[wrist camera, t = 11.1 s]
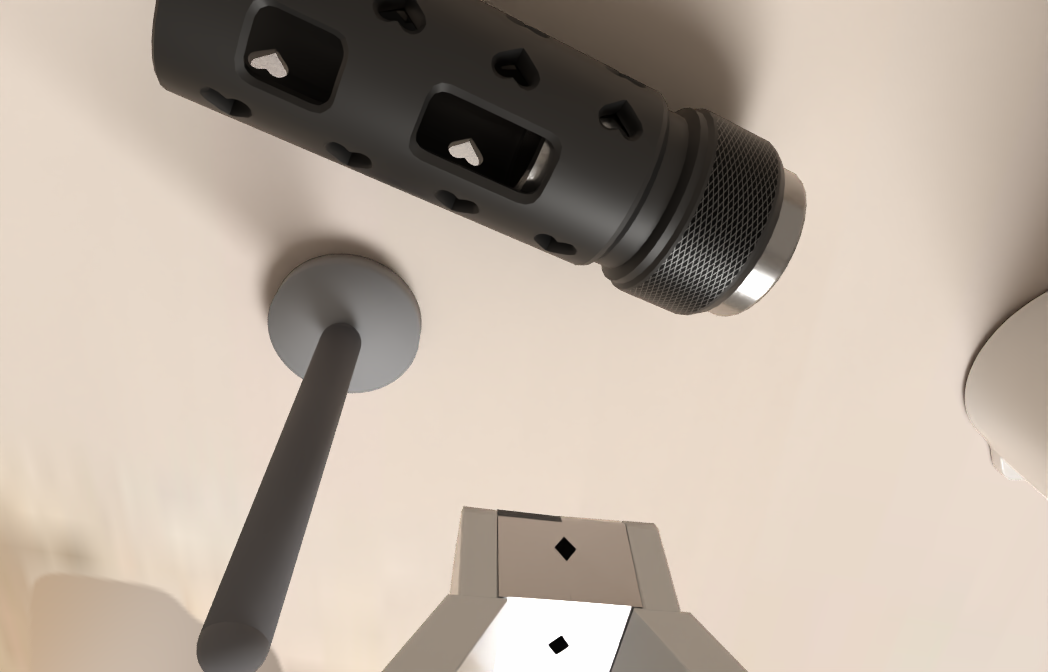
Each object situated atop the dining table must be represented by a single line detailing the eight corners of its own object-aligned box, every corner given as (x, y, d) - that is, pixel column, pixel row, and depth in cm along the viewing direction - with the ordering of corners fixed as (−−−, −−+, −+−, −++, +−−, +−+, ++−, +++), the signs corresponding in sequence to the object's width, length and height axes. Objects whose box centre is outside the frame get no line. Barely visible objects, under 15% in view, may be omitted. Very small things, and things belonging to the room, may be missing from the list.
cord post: (427, 264, 42) (364, 596, 22) (415, 386, 47) (354, 756, 27) (272, 244, 41) (56, 573, 21) (275, 371, 46) (100, 744, 26)
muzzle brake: (266, -132, 32) (180, -147, 23) (770, 131, 39) (851, 196, 30) (216, 69, 36) (128, 120, 28) (679, 273, 44) (726, 366, 35)
